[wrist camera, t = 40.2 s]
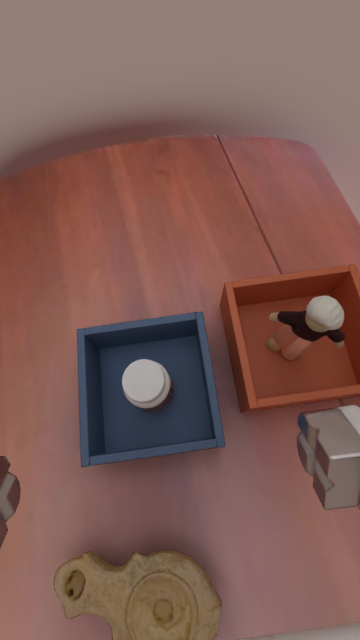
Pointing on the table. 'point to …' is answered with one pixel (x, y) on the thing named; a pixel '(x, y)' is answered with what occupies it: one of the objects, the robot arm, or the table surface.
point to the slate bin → (133, 422)
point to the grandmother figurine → (307, 327)
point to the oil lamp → (142, 595)
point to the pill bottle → (147, 385)
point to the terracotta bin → (272, 367)
